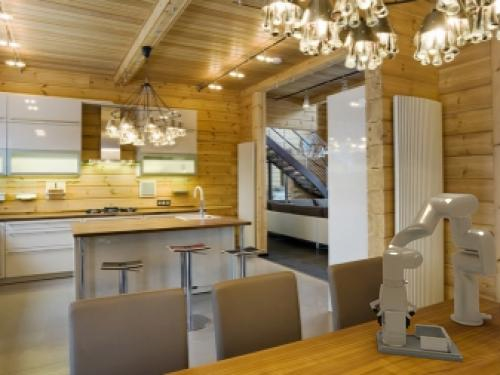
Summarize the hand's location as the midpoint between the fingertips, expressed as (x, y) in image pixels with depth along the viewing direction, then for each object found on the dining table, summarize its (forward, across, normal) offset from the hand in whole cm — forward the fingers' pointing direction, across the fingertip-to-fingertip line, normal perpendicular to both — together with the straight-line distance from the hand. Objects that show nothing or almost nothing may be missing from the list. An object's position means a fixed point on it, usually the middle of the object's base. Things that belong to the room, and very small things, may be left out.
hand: (393, 326), depth 140 cm
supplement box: (+6, 0, 0) cm, 6 cm away
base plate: (+7, -8, 0) cm, 11 cm away
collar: (+6, -14, 0) cm, 15 cm away
